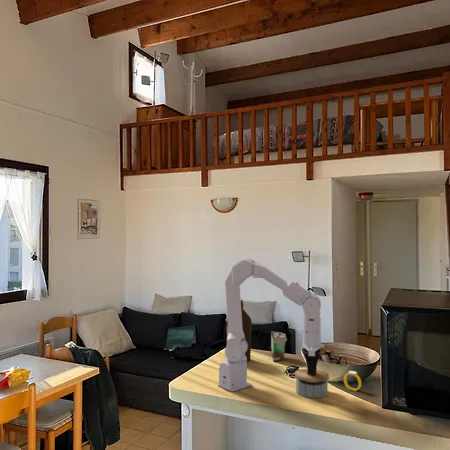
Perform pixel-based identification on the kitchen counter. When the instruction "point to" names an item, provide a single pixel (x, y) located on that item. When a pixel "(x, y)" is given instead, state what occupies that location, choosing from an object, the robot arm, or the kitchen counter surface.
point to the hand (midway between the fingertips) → (311, 371)
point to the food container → (278, 346)
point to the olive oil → (245, 330)
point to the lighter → (325, 358)
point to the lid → (311, 375)
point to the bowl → (312, 389)
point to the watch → (355, 376)
